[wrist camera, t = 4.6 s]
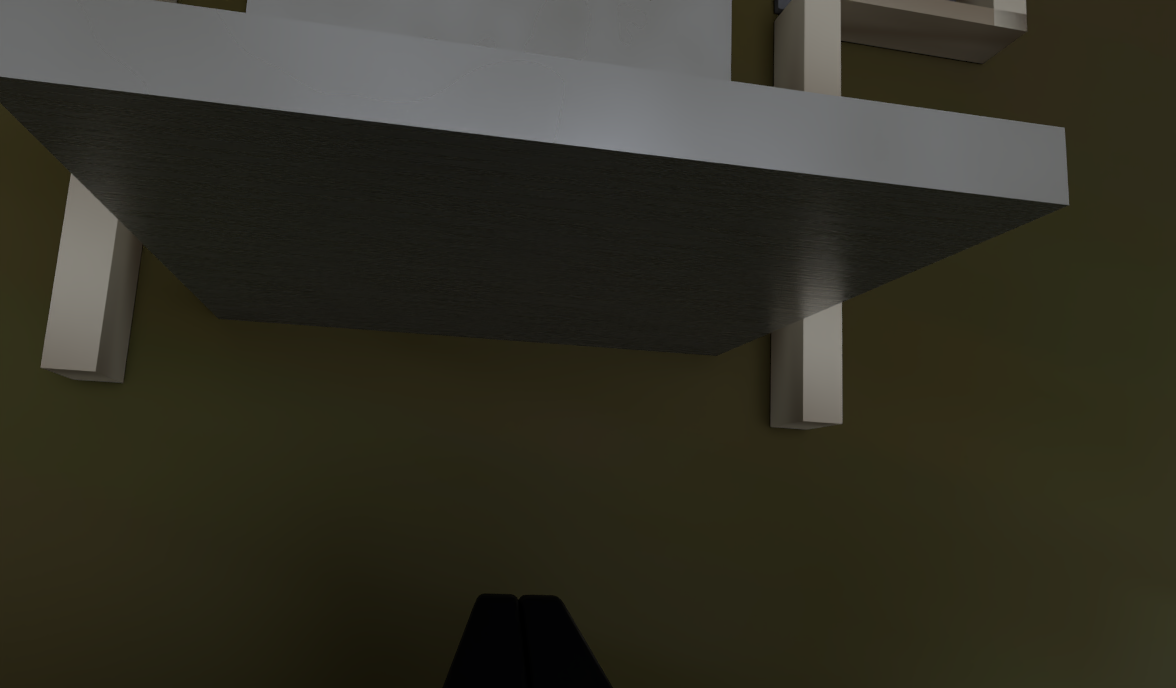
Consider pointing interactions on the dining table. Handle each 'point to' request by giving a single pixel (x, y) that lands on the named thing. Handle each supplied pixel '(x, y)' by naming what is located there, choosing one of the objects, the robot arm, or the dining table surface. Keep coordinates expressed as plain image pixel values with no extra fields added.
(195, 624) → the dining table surface
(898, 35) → the trap lane
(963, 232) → the bookend
